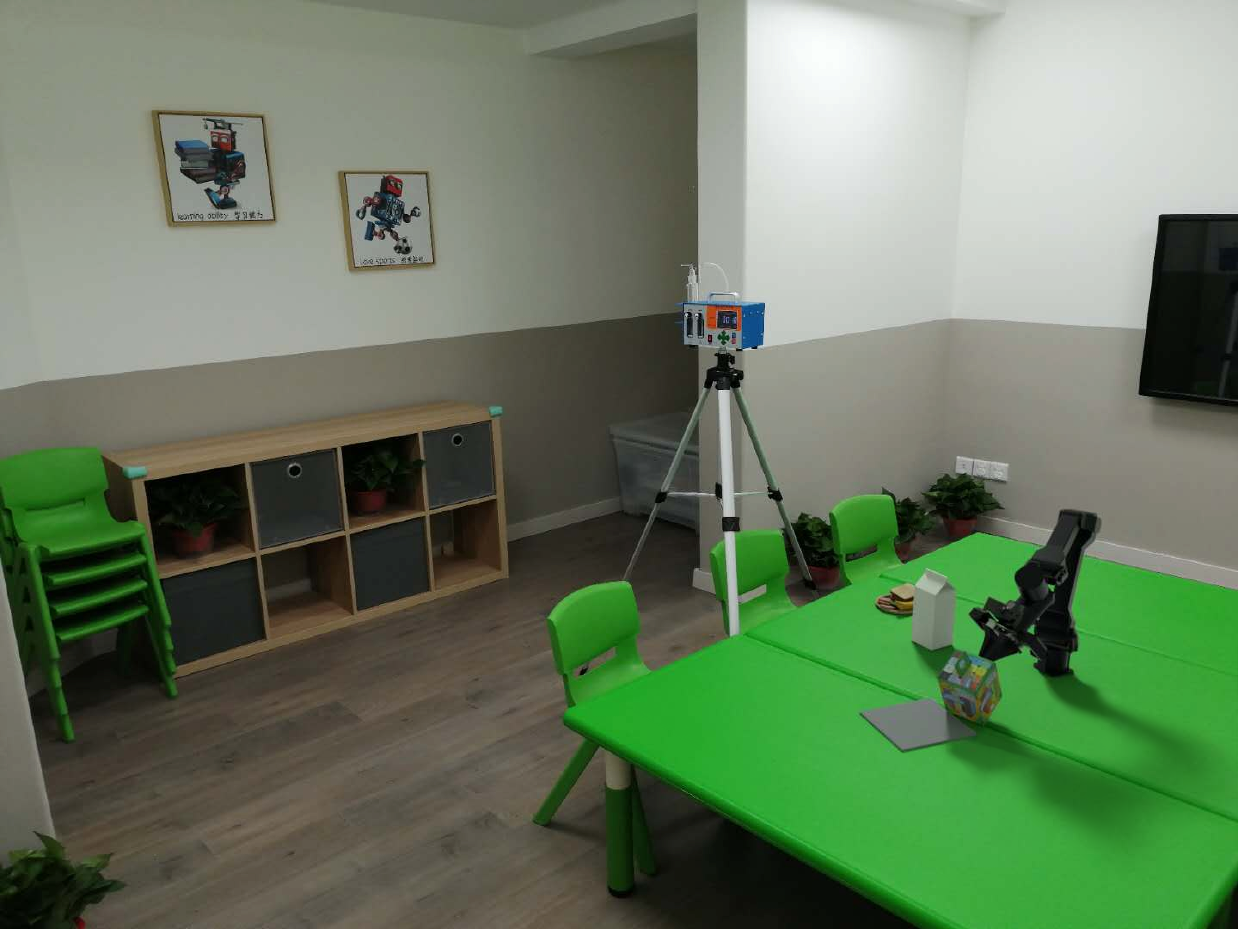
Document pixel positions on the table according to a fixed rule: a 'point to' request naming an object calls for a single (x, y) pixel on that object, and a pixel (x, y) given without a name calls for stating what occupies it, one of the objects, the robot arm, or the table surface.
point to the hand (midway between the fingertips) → (981, 661)
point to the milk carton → (933, 611)
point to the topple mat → (917, 724)
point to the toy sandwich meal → (898, 600)
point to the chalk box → (970, 686)
